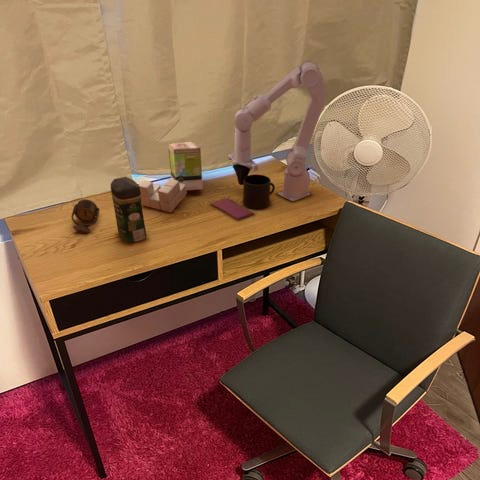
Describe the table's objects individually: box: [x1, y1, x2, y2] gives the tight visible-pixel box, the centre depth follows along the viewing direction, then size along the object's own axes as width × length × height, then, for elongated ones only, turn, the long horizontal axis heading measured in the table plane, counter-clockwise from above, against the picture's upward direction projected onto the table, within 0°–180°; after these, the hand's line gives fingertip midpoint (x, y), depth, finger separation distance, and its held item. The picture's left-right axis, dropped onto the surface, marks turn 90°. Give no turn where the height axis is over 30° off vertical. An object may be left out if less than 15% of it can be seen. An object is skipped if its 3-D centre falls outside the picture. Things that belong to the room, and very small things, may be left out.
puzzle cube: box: [137, 178, 188, 213], centre depth 167 cm, size 12×12×8 cm
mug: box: [242, 174, 276, 210], centre depth 169 cm, size 9×12×9 cm
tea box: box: [168, 141, 203, 191], centre depth 176 cm, size 15×10×15 cm, turn 15°
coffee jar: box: [110, 176, 147, 244], centre depth 145 cm, size 10×8×19 cm
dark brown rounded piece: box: [71, 198, 101, 234], centre depth 155 cm, size 7×13×10 cm
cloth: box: [210, 198, 255, 221], centre depth 167 cm, size 7×15×1 cm, turn 40°
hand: (242, 184), depth 175 cm, fingers closed
